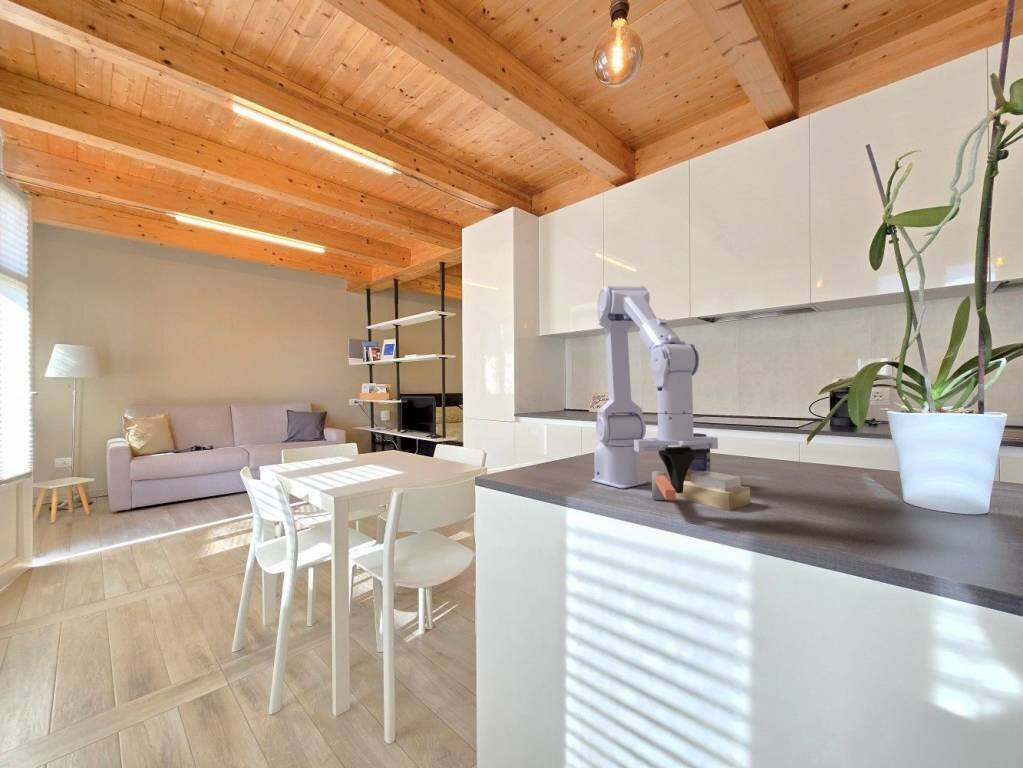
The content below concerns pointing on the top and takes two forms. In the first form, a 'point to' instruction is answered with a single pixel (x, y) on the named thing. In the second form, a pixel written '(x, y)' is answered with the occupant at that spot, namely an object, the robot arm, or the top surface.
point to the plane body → (714, 495)
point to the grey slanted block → (716, 480)
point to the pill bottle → (700, 458)
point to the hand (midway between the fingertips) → (677, 492)
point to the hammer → (662, 487)
